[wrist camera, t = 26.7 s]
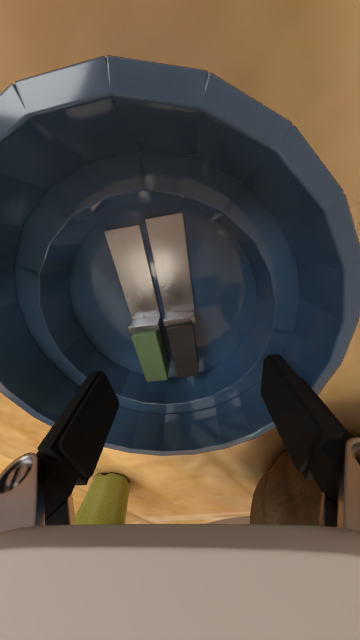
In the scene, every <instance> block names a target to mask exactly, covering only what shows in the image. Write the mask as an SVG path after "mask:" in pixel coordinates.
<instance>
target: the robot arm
mask: <svg viewBox="0 0 360 640" xmlns="http://www.w3.org/2000/svg"><path fill="white" fill-rule="evenodd" d="M260 392H261V396H262V398H263V401H264V403H265V405H266V407H267V409H268V411H269V413H270V415H271V417H272V419H273V422H274V424H275V426H276V428H277V430H278V432H279V434H280V436H281V438H282V440H283V443H284V445H285V447H286V449H287V451H288V453H289V455H290V457H291V459H292V461H293V464H294V466H295V467H296V469H297V470H298V471H301V472H302V474H303V476H304V478H305V480H307V479H314V480H315V481H316V483H317V485H318V487H319V489H320V491H321V492H322V497H321V506H320V516H319V525H318V526H308V525H261V524H240V525H239V524H110V525H76V523H75V514H74V506H73V497H72V491H73V489H74V486H75V485H86V484H87V482H88V479H89V478H90V477H91V476H92V475H93V473H94V470H95V468H96V465H97V463H98V460H99V457H100V455H101V452H102V450H103V447H104V445H105V442H106V439H107V437H108V434H109V432H110V429H111V426H112V424H113V421H114V419H115V416H116V414H117V411H118V408H119V400H118V398H117V396H116V394H115V392H114V390H113V388H112V386H111V384H110V382H109V380H108V378H107V376H106V374H105V373H103V371H93V372H90V374H89V375H88V376H87V378H86V379H85V381H84V382H83V384H82V385H81V386H80V388H79V389H78V391H77V392H76V394H75V395H74V396H73V398H72V399H71V401H70V402H69V404H68V405H67V406H66V408H65V409H64V411H63V412H62V414H61V415H60V417H59V418H58V419H57V421H56V422H55V424H54V425H53V427H52V428H51V429H50V431H49V432H48V434H47V435H46V437H45V438H44V440H43V441H42V442H41V444H40V445H39V447H38V448H37V449H38V450H39V451H38V452H37V454H35V453H27V454H24V455H22V456H20V457H19V458H17V459H16V460H14V461H13V462H12V463H11V464H10V465H9V466H7V467H6V468H5V470H4V471H3V472H2V473H1V474H0V640H360V438H359V437H355V438H353V437H352V436H351V435H350V434H349V433H348V431H347V430H346V429H345V428H344V427H343V425H342V424H341V423H340V422H339V421H338V419H337V418H336V417H335V416H334V415H333V413H332V412H331V411H330V410H329V409H328V407H327V406H326V405H325V404H324V403H323V401H322V400H321V399H320V398H319V397H318V395H317V394H316V393H315V392H314V390H313V389H312V388H311V387H310V386H309V384H308V383H307V382H306V381H305V380H304V379H303V378H300V377H298V376H297V374H296V373H295V372H294V371H293V369H292V368H291V367H290V366H289V364H288V363H287V362H286V361H285V360H284V358H283V357H282V356H281V355H280V354H271V355H267V358H264V363H263V372H262V381H261V390H260Z"/></svg>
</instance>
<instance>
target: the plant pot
mask: <svg viewBox="0 0 360 640" xmlns="http://www.w3.org/2000/svg"><path fill="white" fill-rule="evenodd" d="M129 488H130V482H128V481H127V478H125V477H124V476H121V475H118V474H115V473H109V474H107V475H103V474H98V475H96V476H95V478H94V480H93V482H92V483H91V485H90V488H89V490H88V492H87V494H86V496H85V498H84V500H83V502H82V504H81V506H80V508H79V510H78V512H77V514H76V516H75V523H76V525H110V524H125V518H126V510H127V503H128V495H129Z"/></svg>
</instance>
